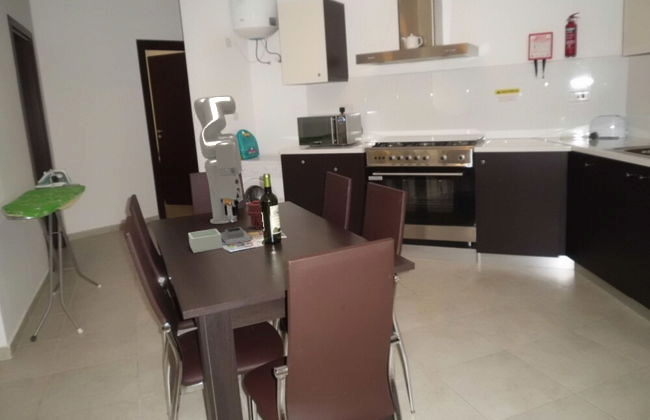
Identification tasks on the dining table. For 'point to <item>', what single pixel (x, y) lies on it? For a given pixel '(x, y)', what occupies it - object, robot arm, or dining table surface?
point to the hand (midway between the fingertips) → (232, 214)
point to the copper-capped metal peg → (230, 210)
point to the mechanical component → (255, 214)
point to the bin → (205, 240)
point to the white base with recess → (234, 235)
